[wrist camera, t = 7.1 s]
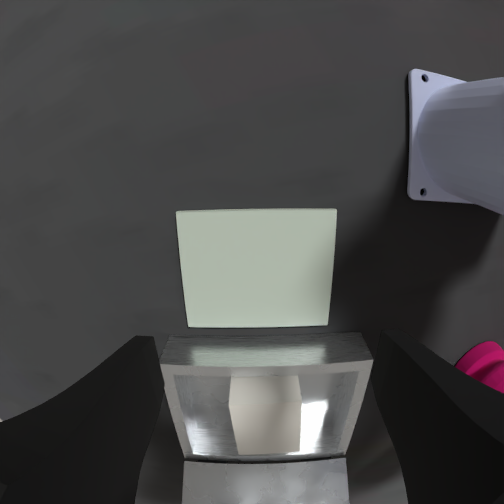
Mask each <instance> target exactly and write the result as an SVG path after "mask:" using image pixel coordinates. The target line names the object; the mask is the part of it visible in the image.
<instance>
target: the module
mask: <svg viewBox="0 0 504 504" xmlns="http://www.w3.org/2000/svg"><path fill="white" fill-rule="evenodd" d="M229 410H230V415H231V420H232V425H233V430H234V435H235V440H236V444H237V449H238V454H239V455H253V454H273V453H287V452H298V451H300V439H301V413H302V398H301V392H300V386H299V380H298V375H294V376H262V377H231V383H230V394H229Z"/></svg>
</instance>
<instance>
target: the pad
mask: <svg viewBox="0 0 504 504" xmlns="http://www.w3.org/2000/svg"><path fill="white" fill-rule="evenodd" d="M336 217H337V210H336V209H226V210H192V211H177V212H176V220H177V232H178V243H179V253H180V263H181V272H182V281H183V290H184V298H185V306H186V314H187V321H188V327H292V326H317V325H328V316H329V307H330V297H331V287H332V275H333V263H334V250H335V235H336Z"/></svg>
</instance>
